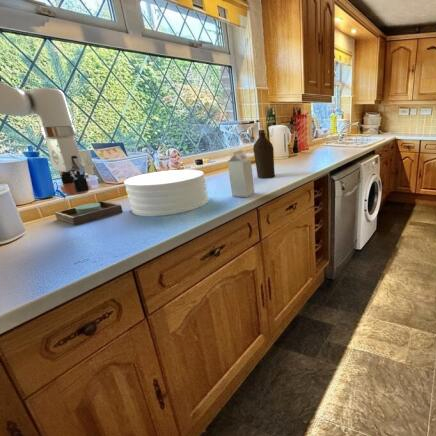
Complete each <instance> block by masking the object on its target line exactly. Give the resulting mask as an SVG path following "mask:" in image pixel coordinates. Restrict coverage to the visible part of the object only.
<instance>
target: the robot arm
mask: <svg viewBox="0 0 436 436" xmlns="http://www.w3.org/2000/svg"><path fill="white" fill-rule="evenodd" d="M66 99H67V98H66V96H65V94H64V92H63V91H62V90H60V89H58V88H50V87H49V88H47V87H45V88H44V87H37V88H36V87H35V88H32V89H26V88H25V89H24V88H17V87H14V86H11V85H9V84H7V83H4V82H2V81H0V114H2V115H4V116H5V115H6V116H9V117H10V116H11V117H24V116H25V117H26V116H32V115H36V117H37V121H38V124H39V126H40V130H41V132H42V136H43V139H44V140H46V147H47V151H48V155H49V158H50V162H51V165H52V168H53V170H55V171H57V172H59V177H60V179H61V182H62V184H66V183H72V182H74V185H75V189H76V192H83V191H90V190H89V188H88V184H87V182H88V181H87V178H86V175H85V174H86V172H85V165H84V160H83V157H82V155H81V151H80V149H79V146H78V143H77V140H76V138H77V135H76V130H75V127H74V123H73V120H72V115H71V112H70V109H69V106H68V103H67V100H66Z"/></svg>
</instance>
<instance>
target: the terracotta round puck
mask: <svg viewBox="0 0 436 436" xmlns="http://www.w3.org/2000/svg"><path fill="white" fill-rule="evenodd" d="M87 184H88V188H89V190H88V191H83V192H76V189H75V185H74V182H72V183H66V184H63V183H62V184H60V185H59V188H60V191H61V193H62V194H65V195H67V196H77V195H85V194H86V193H87V194H88V193H89V191H91V190H92V187H91V182H90V181H87Z"/></svg>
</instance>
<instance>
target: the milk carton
mask: <svg viewBox="0 0 436 436" xmlns="http://www.w3.org/2000/svg"><path fill="white" fill-rule="evenodd" d="M232 153H233V155H232V156H231V157H230V158H229V159H228V161H227V169H228V175H229V183H230V189H231V196H232V197H237V198H248V197H251V196H253V194H255V184H254V176H253V167H252V159H251V158H250V157H249V156H247V155H246V154H245V153H244V152H243V149H240V150H237V151H233V152H232Z"/></svg>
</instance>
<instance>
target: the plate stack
mask: <svg viewBox="0 0 436 436" xmlns="http://www.w3.org/2000/svg"><path fill="white" fill-rule="evenodd" d="M123 185H124V187H125V192H126V194H127V199H128V200H129V201H128V203H129V206H130V211H131V213H132V214H133V215H136V216H141V217H161V216H162V217H163V216H170V215H176V214H181V213H185V212H190V211H194V210H196V209H199V208H200V207H203V206H205V205H206V204H208V203H209V196H208V195H209V194H208V190H207V184H206V178H205V172H204V171H202V170H197V169H172V170H171V169H170V170H162V171H154V172H149V173H143V174H139V175H135V176H132V177H129V178H126V179H125V180H124V181H123Z"/></svg>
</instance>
